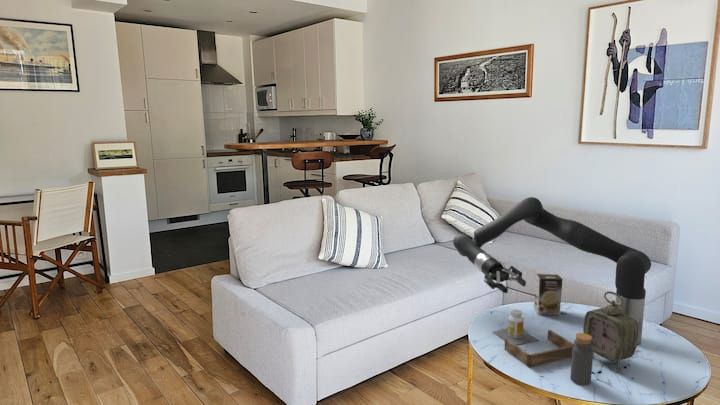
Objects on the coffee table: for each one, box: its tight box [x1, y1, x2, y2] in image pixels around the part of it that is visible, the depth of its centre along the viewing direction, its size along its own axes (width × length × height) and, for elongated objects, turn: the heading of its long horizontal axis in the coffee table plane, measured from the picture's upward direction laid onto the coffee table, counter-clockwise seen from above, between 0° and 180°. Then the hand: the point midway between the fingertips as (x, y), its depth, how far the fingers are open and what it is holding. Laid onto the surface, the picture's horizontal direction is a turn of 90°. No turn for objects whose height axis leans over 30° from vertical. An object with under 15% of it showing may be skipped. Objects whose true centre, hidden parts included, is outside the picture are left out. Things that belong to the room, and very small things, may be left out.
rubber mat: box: [491, 328, 540, 346], centre depth 176 cm, size 12×12×1 cm
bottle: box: [570, 332, 594, 386], centre depth 145 cm, size 6×6×15 cm
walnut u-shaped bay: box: [504, 329, 575, 368], centre depth 163 cm, size 13×20×4 cm, turn 109°
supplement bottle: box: [507, 308, 524, 338], centre depth 175 cm, size 5×5×10 cm
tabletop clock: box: [582, 290, 638, 373], centre depth 154 cm, size 14×9×25 cm, turn 23°
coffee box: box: [533, 273, 563, 316], centre depth 195 cm, size 9×6×16 cm
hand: (516, 287), depth 174 cm, fingers open, 8 cm apart
